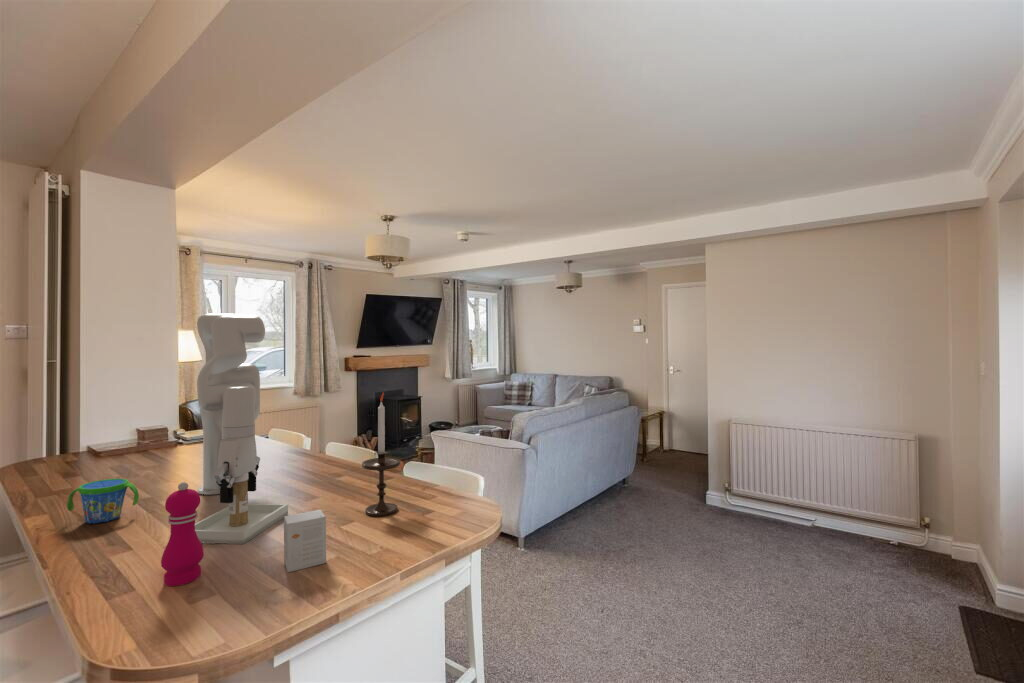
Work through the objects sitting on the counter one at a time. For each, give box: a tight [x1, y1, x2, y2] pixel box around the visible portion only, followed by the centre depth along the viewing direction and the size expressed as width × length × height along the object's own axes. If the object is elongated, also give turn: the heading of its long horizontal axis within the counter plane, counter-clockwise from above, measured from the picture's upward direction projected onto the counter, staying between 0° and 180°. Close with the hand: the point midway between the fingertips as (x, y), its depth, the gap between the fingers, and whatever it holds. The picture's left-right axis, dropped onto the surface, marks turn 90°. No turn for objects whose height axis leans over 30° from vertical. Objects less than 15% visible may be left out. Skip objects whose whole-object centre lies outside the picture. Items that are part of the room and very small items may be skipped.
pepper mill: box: [160, 481, 205, 587], centre depth 97 cm, size 7×7×20 cm
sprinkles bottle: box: [228, 473, 249, 526], centre depth 124 cm, size 5×5×14 cm
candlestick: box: [361, 391, 401, 518], centre depth 136 cm, size 11×11×35 cm
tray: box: [195, 503, 289, 545], centre depth 124 cm, size 20×16×3 cm
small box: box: [283, 509, 327, 573], centre depth 103 cm, size 8×6×10 cm
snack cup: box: [66, 478, 139, 525], centre depth 130 cm, size 16×10×10 cm
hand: (238, 496), depth 124 cm, fingers open, 9 cm apart
